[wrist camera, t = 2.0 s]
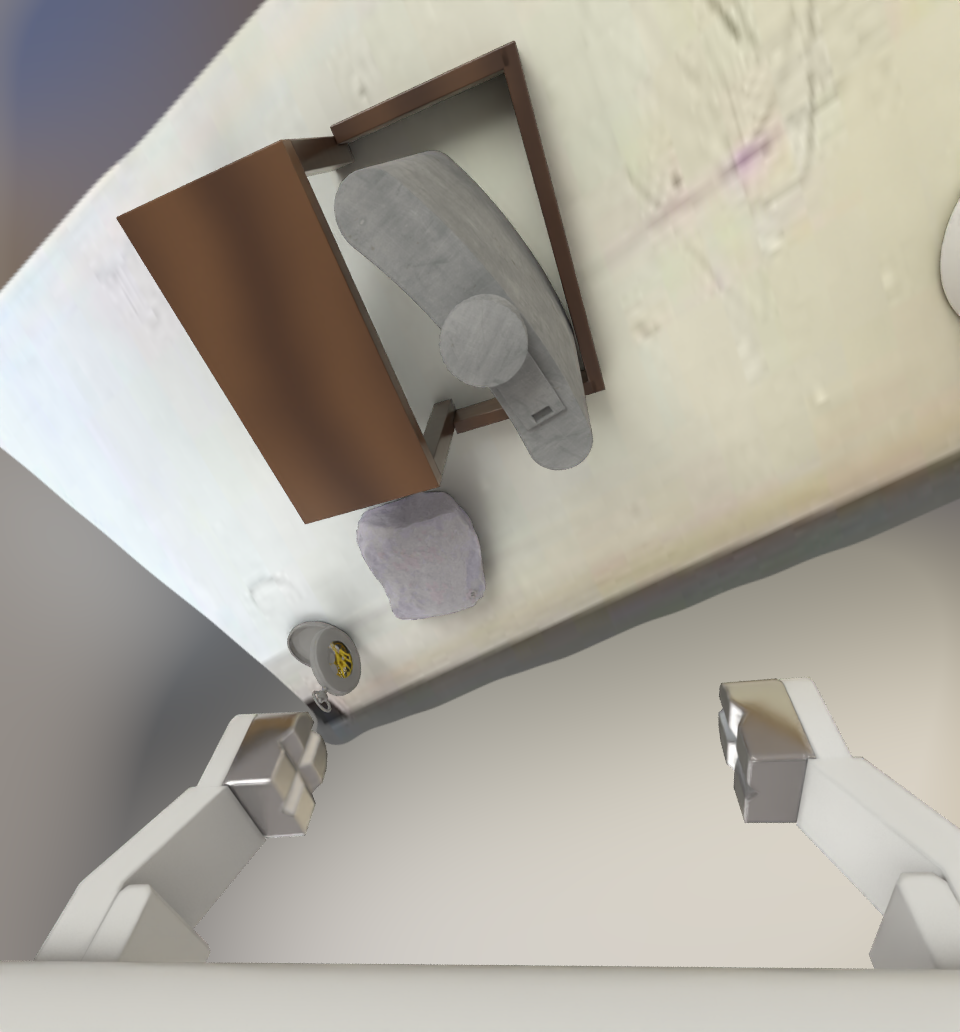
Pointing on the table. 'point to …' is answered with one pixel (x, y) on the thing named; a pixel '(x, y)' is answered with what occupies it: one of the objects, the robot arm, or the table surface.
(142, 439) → the table surface
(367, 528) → the stone block
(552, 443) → the hip flask
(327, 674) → the pocket watch
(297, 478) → the shelf stand
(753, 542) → the table surface
